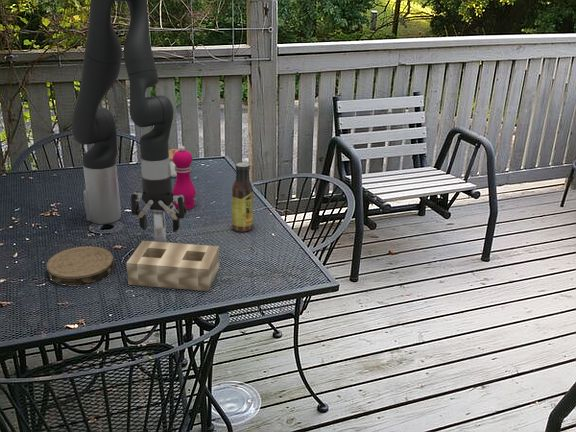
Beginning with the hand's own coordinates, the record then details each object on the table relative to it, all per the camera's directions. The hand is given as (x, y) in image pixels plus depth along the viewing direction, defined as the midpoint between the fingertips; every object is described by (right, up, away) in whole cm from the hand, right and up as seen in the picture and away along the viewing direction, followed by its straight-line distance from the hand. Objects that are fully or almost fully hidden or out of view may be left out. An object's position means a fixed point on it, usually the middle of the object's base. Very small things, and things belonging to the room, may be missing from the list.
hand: (160, 229), depth 157 cm
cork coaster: (-18, -10, -10) cm, 23 cm away
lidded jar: (-7, +19, +55) cm, 59 cm away
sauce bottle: (+21, 0, +15) cm, 26 cm away
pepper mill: (+1, +7, +29) cm, 30 cm away
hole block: (+6, -11, -11) cm, 17 cm away
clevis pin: (0, -5, +2) cm, 5 cm away
